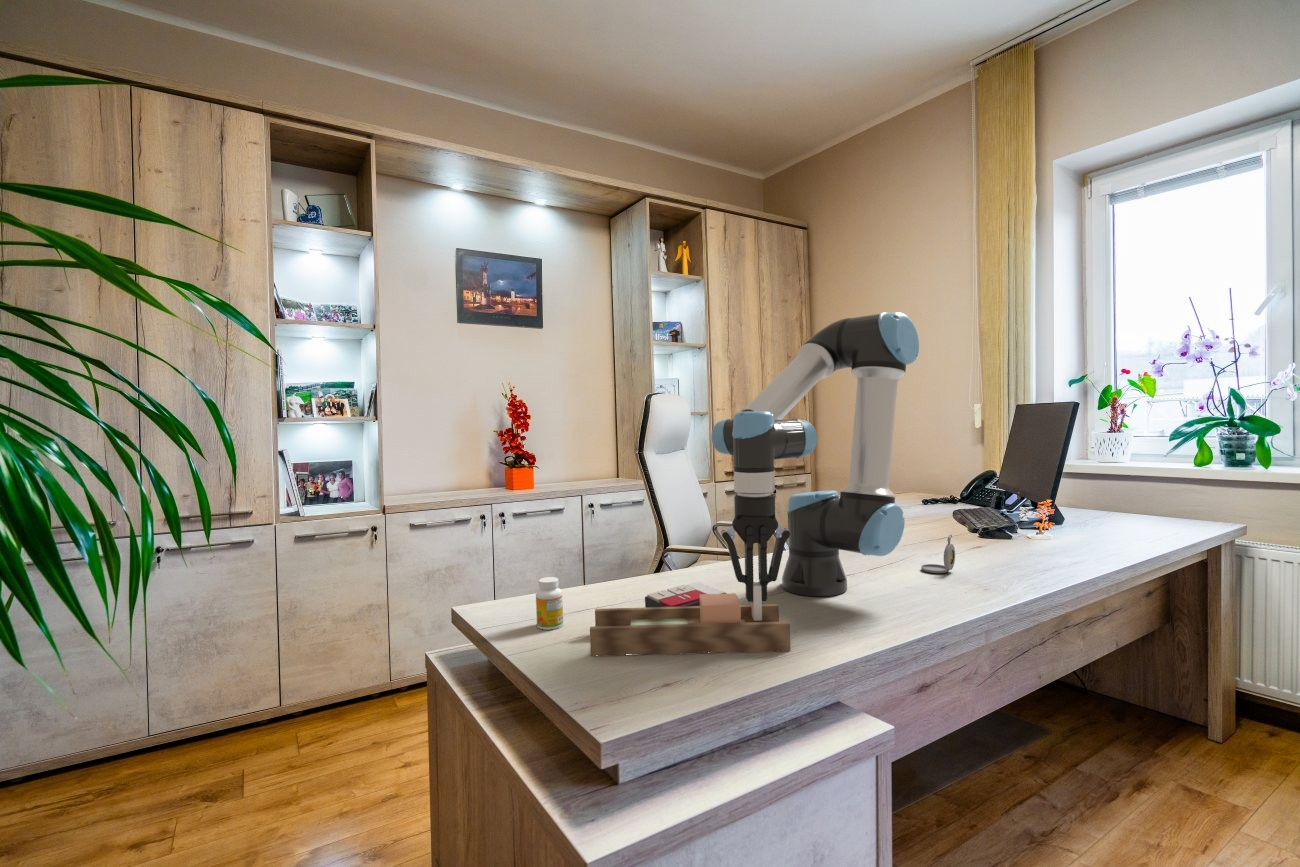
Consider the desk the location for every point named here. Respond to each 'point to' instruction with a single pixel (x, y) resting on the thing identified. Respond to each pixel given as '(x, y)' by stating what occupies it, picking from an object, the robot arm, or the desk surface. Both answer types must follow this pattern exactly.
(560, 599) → the supplement bottle
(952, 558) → the pocket watch
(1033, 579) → the desk surface
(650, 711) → the desk surface
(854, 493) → the robot arm
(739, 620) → the block
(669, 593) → the calculator
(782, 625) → the trap channel
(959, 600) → the desk surface
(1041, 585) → the desk surface
